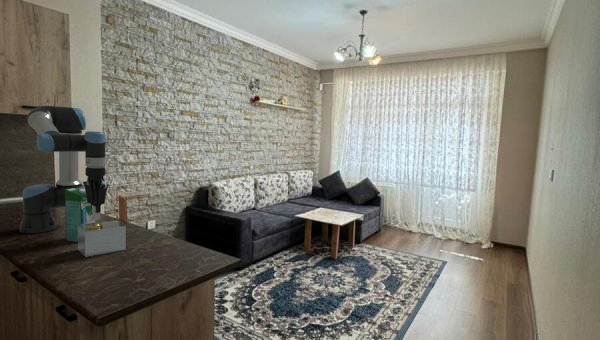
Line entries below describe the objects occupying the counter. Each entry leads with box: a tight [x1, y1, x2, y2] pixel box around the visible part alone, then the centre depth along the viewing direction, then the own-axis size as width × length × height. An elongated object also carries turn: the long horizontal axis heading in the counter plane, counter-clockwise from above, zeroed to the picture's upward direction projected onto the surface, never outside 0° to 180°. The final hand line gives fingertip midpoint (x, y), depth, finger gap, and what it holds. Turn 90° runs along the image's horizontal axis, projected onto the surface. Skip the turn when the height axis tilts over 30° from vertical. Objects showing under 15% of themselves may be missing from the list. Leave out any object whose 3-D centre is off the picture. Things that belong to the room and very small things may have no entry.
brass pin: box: [86, 221, 103, 229], centre depth 148 cm, size 6×6×12 cm
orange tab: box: [117, 194, 129, 225], centre depth 155 cm, size 8×12×1 cm
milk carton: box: [64, 187, 98, 243], centre depth 162 cm, size 9×9×25 cm
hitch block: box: [77, 220, 127, 258], centre depth 150 cm, size 12×16×11 cm
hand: (96, 219), depth 148 cm, fingers closed
